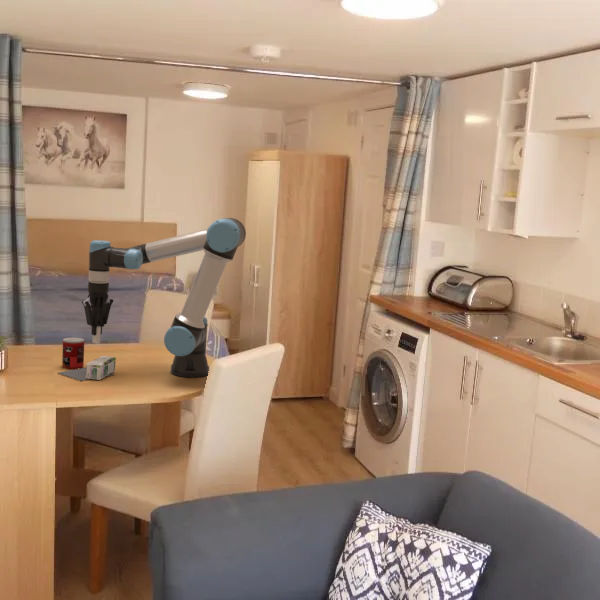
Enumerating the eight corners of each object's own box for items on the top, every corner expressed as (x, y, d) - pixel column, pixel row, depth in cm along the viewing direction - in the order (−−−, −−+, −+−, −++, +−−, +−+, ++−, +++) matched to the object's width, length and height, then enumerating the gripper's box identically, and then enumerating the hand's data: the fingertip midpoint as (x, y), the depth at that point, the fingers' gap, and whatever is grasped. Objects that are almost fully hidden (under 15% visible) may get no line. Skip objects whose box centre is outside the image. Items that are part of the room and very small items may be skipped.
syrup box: (115, 371, 284) (100, 380, 269) (100, 369, 284) (84, 378, 270) (116, 356, 283) (100, 365, 268) (101, 355, 283) (85, 363, 269)
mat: (113, 375, 279) (113, 374, 279) (81, 381, 267) (81, 380, 267) (90, 367, 287) (90, 366, 287) (57, 373, 275) (57, 372, 275)
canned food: (60, 365, 288) (61, 337, 287) (81, 364, 292) (82, 337, 290) (64, 369, 282) (64, 341, 280) (85, 368, 285) (86, 341, 284)
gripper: (106, 279, 283) (103, 339, 287) (77, 281, 273) (75, 343, 276) (118, 282, 279) (116, 342, 282) (90, 284, 268) (88, 347, 272)
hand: (96, 343), depth 279 cm, fingers closed
